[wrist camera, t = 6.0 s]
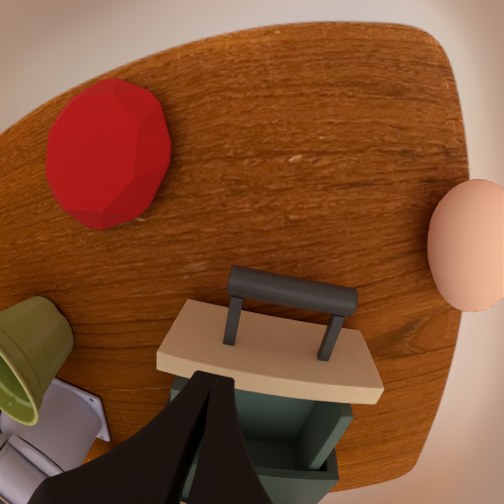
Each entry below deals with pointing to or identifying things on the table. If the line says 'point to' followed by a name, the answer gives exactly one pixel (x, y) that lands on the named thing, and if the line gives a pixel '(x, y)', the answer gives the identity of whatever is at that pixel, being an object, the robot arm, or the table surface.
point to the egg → (469, 245)
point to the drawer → (278, 365)
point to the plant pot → (30, 355)
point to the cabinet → (288, 481)
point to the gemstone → (108, 153)
